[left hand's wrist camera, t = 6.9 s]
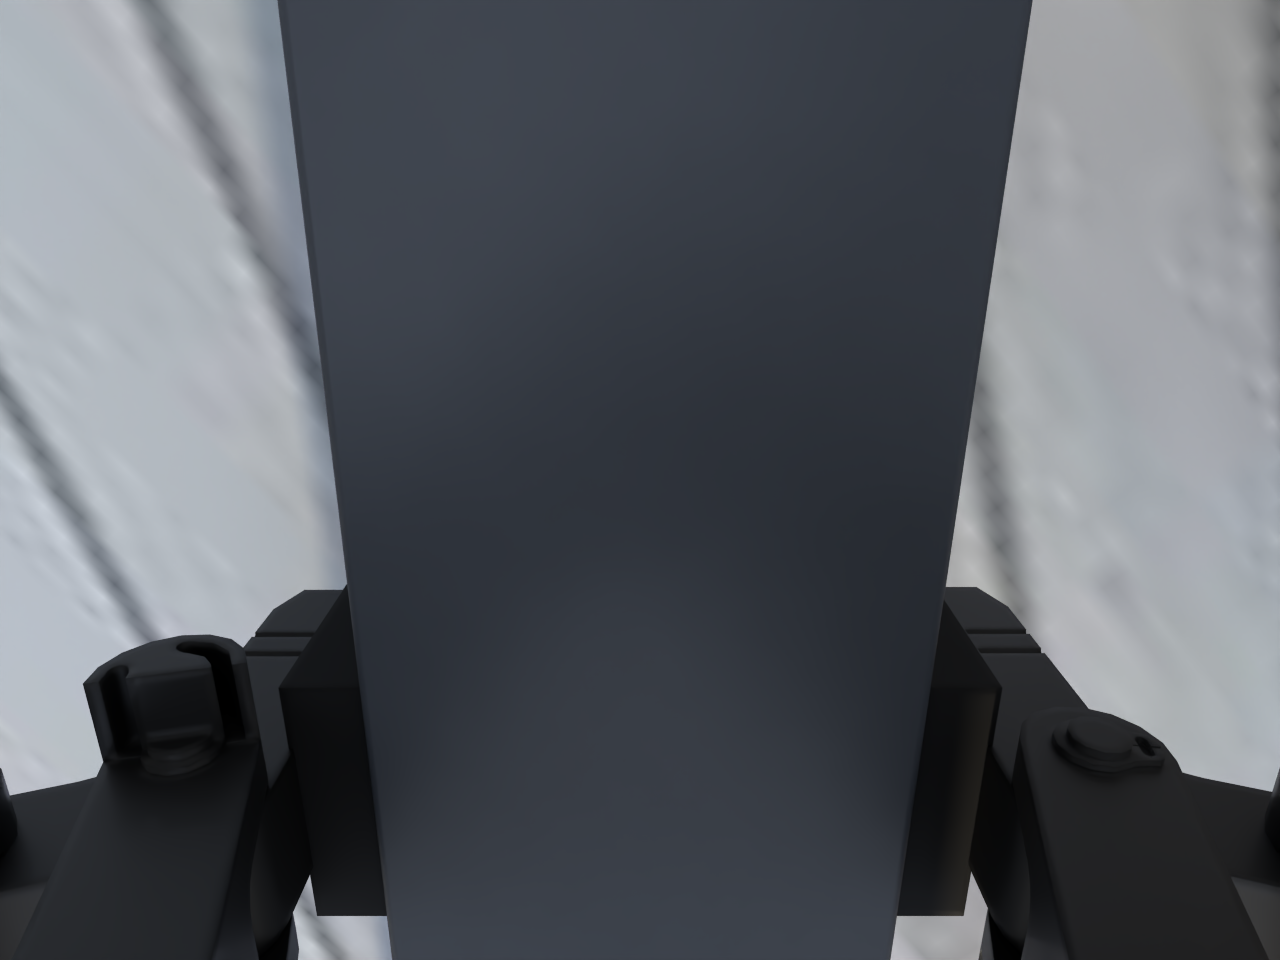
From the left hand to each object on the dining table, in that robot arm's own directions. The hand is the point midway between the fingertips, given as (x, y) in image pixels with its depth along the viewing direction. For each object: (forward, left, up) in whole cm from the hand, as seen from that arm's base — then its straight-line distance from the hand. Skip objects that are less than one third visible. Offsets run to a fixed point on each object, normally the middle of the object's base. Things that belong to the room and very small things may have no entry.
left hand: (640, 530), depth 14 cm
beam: (+2, +24, -1) cm, 24 cm away
